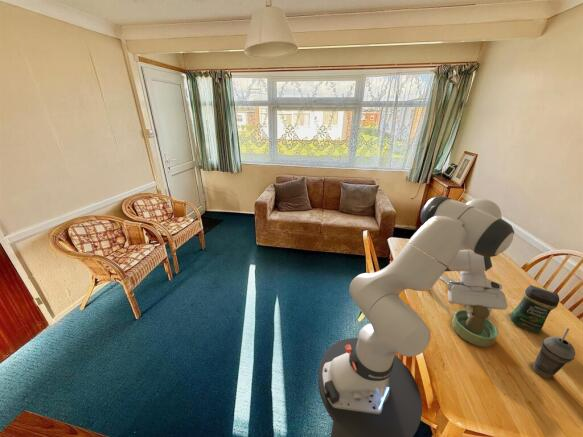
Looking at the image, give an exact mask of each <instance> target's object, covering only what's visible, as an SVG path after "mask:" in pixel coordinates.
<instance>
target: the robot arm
mask: <svg viewBox="0 0 583 437" xmlns="http://www.w3.org/2000/svg"><path fill="white" fill-rule="evenodd" d="M420 222H421V226H420V227H419V228H418V229H417V230H416V231H415V232H414V233H413V235H412V236H411V237H410V238H409V239H408V241H407V242H406V243H405V245H404V246H403V247H402V249H401V250H399V253H398V254H397V255H396V257H395V258H394V259H393V260H392V261H391V262H390V263H389V264H387V266H385V267H383V268H381V269H380V270H377V271H374V272H364V273H363V272H362V273H360V274H357V275H356V276H355V277H354V278H353V279H352V280H351V282H350V284H349V287H348V292H349V295H350V296H351V299H352V301H353V302H354V305H355V307H357V309H359V311H360V312H361V313H362V315H363V316H364V317H365V318H366V319H367V320H368V322H369V323H366V324H365V325H364V326H362V328H360V329H359V331H358V336H357V338H358V341H357V344H356V345H355V346H354V348H353V349H351V345H349V344H348V345H346V346H345V349H346V352H347V353H345V354H343V355H340V356H338V357H336V358H334V359H333V360H332V361H331V362H327V363H325V364H324V367H323V371H322V379H323V386H324V390H325V397H326V398H327V399H328V401H329V402H330V404H331V405H332V406H333V407H334V408H338V409H345V410H352V411H359V412H366V413H373V414H381V412H382V409H383V404H384V403H385V401H386V400H387V399H388V397H389V393H390V386H389V376H390V374H391V372H392V368H393V364H394V360H393V359H394V356H395V355H396V354H398V355H400V356H403V357H416V356H419V355H421V354H422V353H424V352H425V351H426V350H427V349H428V347H429V345H430V342H431V329H430V328H429V327H428V325H427V324H426V323H425V321H424V319H423V318H422V317H421V316H420V315H419V314H418V312H417V311H415V310H414V309H413V308H412V307H411V306H410V305H409V304H408V303H407V302H406V301H404V299H402V297H400V294H402V292H404V291H406V290H411V291H417V292H426V291H429V290H430V289H433V287H434V286H435V284H436V283H437V282H438V281H439V280H440V279H439V278H440V277H441V275H442V276H443V275H444V273H445V272H459V279H460V280H459V281H457V280H455V281H450V282H448V283H447V284H446V287H447V301H448V302H449V303H450V304H451V305H461V306H463V310H464V309H465V310H466V312H467V314H468V317H469V318H474V313H472V312H471V311H472V310H471V307H474V306H476V305H481V306H484V307H485V308H487V309H488V310H489V316H488V317H487V318H485V320H490V319H491V318H490V316H491V313H492V311H493V309H494V310H504V311H505V310H507V308H508V302H507V298H506V294H505V293H504V291H503V285H502V284H501V283H499V282H496V281H493V280H491V279H489V278H488V277H487V274H486V273H485V272H487V271H489V270H491V268H493V263H492V259H491V258H493V257H497V256H498V255H500V254H501V253H504V252H505V251H507V249H509V247H510V246H511V244H512V242H513V240H514V235H515V230H514V228H513V226H512V225H511V224H510V223H509V222H507V221H506V220H504V219H503V215H502V211H501V208H500V206H499V205H498V204H497V203H496V202H494V201H493V200H489V199H485V198H475V199H472V200H469V201H467V202H466V203H465V202H462V201H459V200H455V199H452V198H451V197H447V196H442V195H437V196H434V197H432V198H429V200H428V201H427V202H426V203H425V204H424V205H423V207H422V209H421V212H420ZM470 310H471V311H470ZM490 321H491V320H490ZM325 371H326V372H325ZM348 405H349V406H348ZM373 407H374V408H375V409H373Z"/></svg>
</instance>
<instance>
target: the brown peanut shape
mask: <svg viewBox="0 0 583 437" xmlns="http://www.w3.org/2000/svg"><path fill="white" fill-rule="evenodd" d="M471 309H472V310H471V311H473V312H472V313H474V318H468V319H467V320H466V322H465V323H464V326H465V328H466V329H467V330H468V331H470V332H471V333H474V334H481V333H482V330H483V326H484V322H485V318H487V317H488V316H489V317H490V315H489V310H488V309H487V308H485V307H484V306H481V305H476V306H472V308H471Z"/></svg>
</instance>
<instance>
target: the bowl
mask: <svg viewBox="0 0 583 437" xmlns="http://www.w3.org/2000/svg"><path fill="white" fill-rule="evenodd" d="M470 311H471V312H473V311H472V310H471V309H470ZM468 318H469V317H468V314H467V312H466V310H465V309H464V308H463V309H457V310H456V311H455V313H454V315H453V317H452V319H451V327H452V328H453V330H454V331H455V333H456V334H457V335H458V336H459V337H461V338H462V339H463V340H464V341H466V342H468V343H470V344H473V345H475V346H478V347H483V348H484V347H490V346H492V345H493V344H494V343H495V341H496V339H497V338H498V335H499V330H498V328H497V327H496V324H494V322H492V321H491V320H485V322H484V326H483V330H482V333H481V334H474V333H471V332H470V331H468V330H467V329H466V328H465V326H464V323H465V322H466V320H467V319H468Z"/></svg>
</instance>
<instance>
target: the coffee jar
mask: <svg viewBox="0 0 583 437" xmlns="http://www.w3.org/2000/svg"><path fill="white" fill-rule="evenodd" d="M559 303H560V296H559V294H558V293H557V292H553V291H550V290H548V289H544V288H541V287H538V286H535V285H533V284H530V285H529V286H527V287H526V288H525V290H524V291H523V298H522V299H521V301H520V302H519V303H518V304H517V305H516V307H515V308H514V309H513V310H512V312H510V321H511V322H512V323H513V324H515V325H516V326H518V327H520V328H522V329H524V330H527V331H530V332H532V333H540V332H541V331H542V330H543V328H544V325H545V323H546V320H547V318H548V317H549V314H550V313H551V311H553V310H555V309H556V308H558V306H559Z"/></svg>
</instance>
